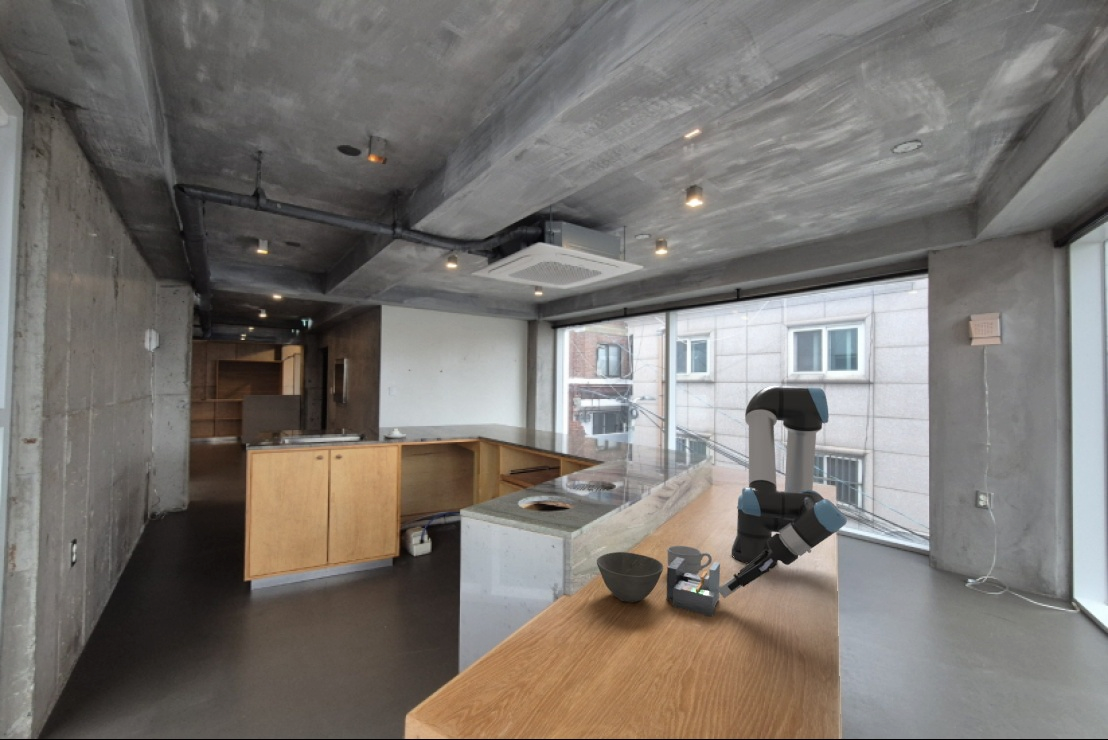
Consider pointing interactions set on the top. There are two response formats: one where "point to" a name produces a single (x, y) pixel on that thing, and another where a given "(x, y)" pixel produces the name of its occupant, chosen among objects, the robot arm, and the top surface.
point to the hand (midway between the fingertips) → (721, 593)
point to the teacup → (688, 558)
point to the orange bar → (702, 580)
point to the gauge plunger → (711, 580)
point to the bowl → (629, 574)
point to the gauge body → (688, 590)
